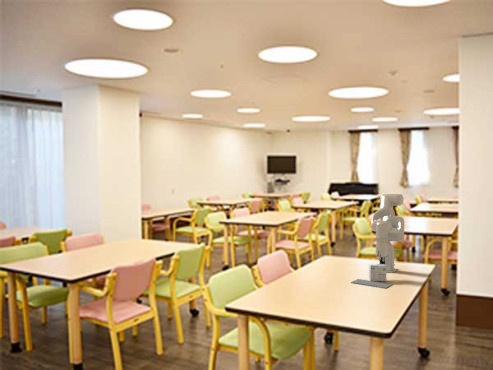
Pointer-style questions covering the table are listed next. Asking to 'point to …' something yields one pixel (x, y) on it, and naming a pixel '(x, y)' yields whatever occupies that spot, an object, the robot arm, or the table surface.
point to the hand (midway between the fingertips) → (382, 266)
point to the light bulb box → (377, 272)
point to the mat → (371, 283)
